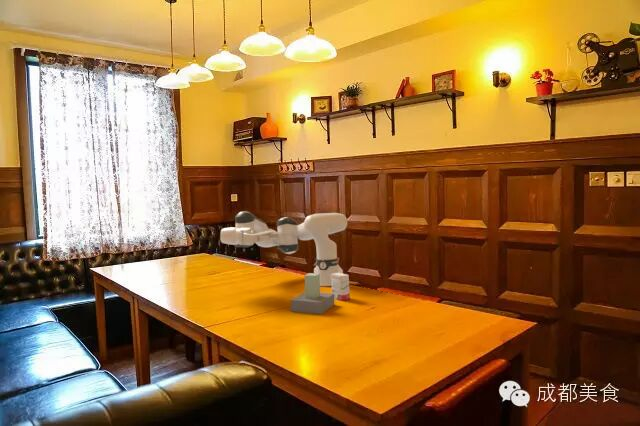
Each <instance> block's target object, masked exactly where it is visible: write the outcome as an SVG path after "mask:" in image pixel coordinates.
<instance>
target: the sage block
mask: <svg viewBox="0 0 640 426" xmlns="http://www.w3.org/2000/svg"><path fill="white" fill-rule="evenodd" d="M304 292H305V298H315V299H316V298H318V297H319V296H320V293H321V286H320V274H316V273H314V272H308V273H306V274H305V275H304Z"/></svg>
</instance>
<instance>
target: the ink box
mask: <svg viewBox="0 0 640 426" xmlns="http://www.w3.org/2000/svg"><path fill="white" fill-rule="evenodd" d="M349 277H350V275H349V274H346V273H344V272H343V273H333V274H331V284H332V286H331V294H334V300H340V301H347V300H350V299H351V295H350V294H351V293H350V279H349Z"/></svg>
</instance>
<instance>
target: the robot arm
mask: <svg viewBox="0 0 640 426" xmlns="http://www.w3.org/2000/svg"><path fill="white" fill-rule="evenodd" d="M234 219H235V221H234V222H235V224H234V226H235V227H233V226H231V227H224V228H222V229H221V230H220V233H219V234H220V235H219V240H220V242H221V243H222V244H226V245H233V246H235V247H236V248H245V249H246V248H249V247H251V246H253V245H255V244H256V245H257V246H258V247H261V248H272V247H276V246H277V250H280V252H282V253H284V254H288V255H291V254H294V253H296V252H298V250H299V242H298V240H300V241H310V240H314V243H315V248H316V251H315V252H316V258H315V265H316V266H315V267H314V268H313V273H316V274H320V287H332V284H331V274H333V273H343V274H344V270H343V268H341V266H340V265H339V261H340V257H338V251H337V250H338V249H337V248H338V247H337V246H338V245H337V243H336V242H335V241H333V240H331V238H329V235H332V234H335V233H339V232H342V231H344V230H346V228H347V227H348V219H347V217H346V215H345V214H344V213H339V212H324V213H313V214H310V215H308V216H306V217H305V218H304V221H303V222H302V223H300V224H298V221H295V219H293V218H291V217H288V216H284V217H281V218H280V219H278V220H277V221H276V227H277V231H276V230H274V229H272V228H269V227H268V225H267V223H266V222H265V221H264V220H262V219H261V218H259V217H257V216H255V215H254V214H253V213H252V212H249V211H240V212H238V213H237V214H236V215H235V216H234Z"/></svg>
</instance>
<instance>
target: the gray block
mask: <svg viewBox="0 0 640 426" xmlns="http://www.w3.org/2000/svg"><path fill="white" fill-rule="evenodd" d="M334 305H335V298H334V294H332V292H330V293H327V292H320V296H319V297H318V298H316V299H315V298H305V291H304V292H303V293H301V294H298V295H297V296H295V297H294V298H292V299H290V312H293V313H294V312H295V313H303V314H304V313H305V314H313V315H314V314H316V315H322V314H324V313H325V312H327V310H329V309H330V308H332V307H333V306H334Z"/></svg>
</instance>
